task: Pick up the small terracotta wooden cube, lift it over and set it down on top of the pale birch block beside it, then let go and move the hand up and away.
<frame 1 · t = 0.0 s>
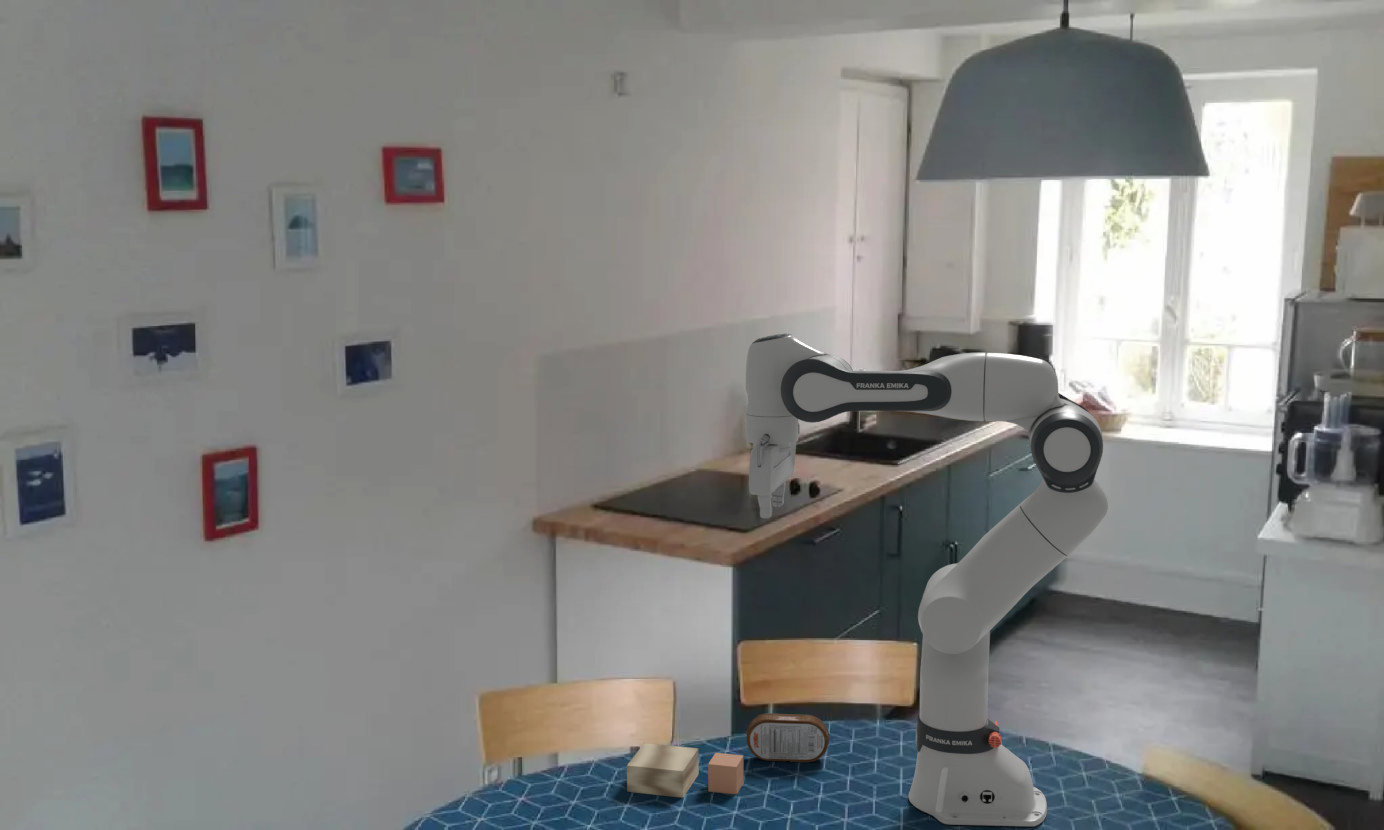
hand: (772, 511, 214), 48 cm above the table, tool pointing down, fingers open, 8 cm apart
tin: (787, 761, 230), on the table
base block: (663, 784, 221), on the table
cube: (726, 787, 219), on the table
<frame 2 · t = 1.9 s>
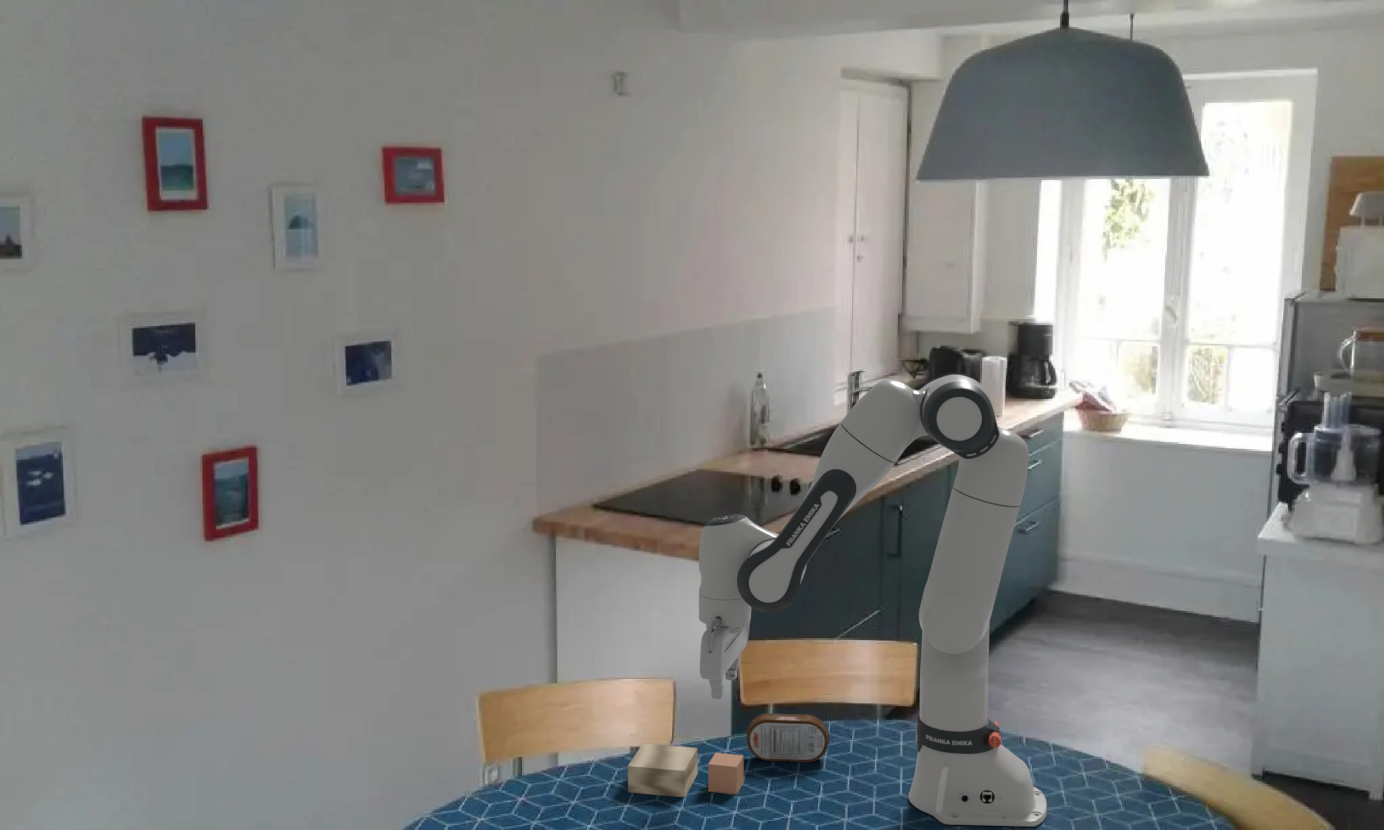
hand: (724, 688, 216), 18 cm above the table, tool pointing down, fingers open, 8 cm apart
nothing on the table moved.
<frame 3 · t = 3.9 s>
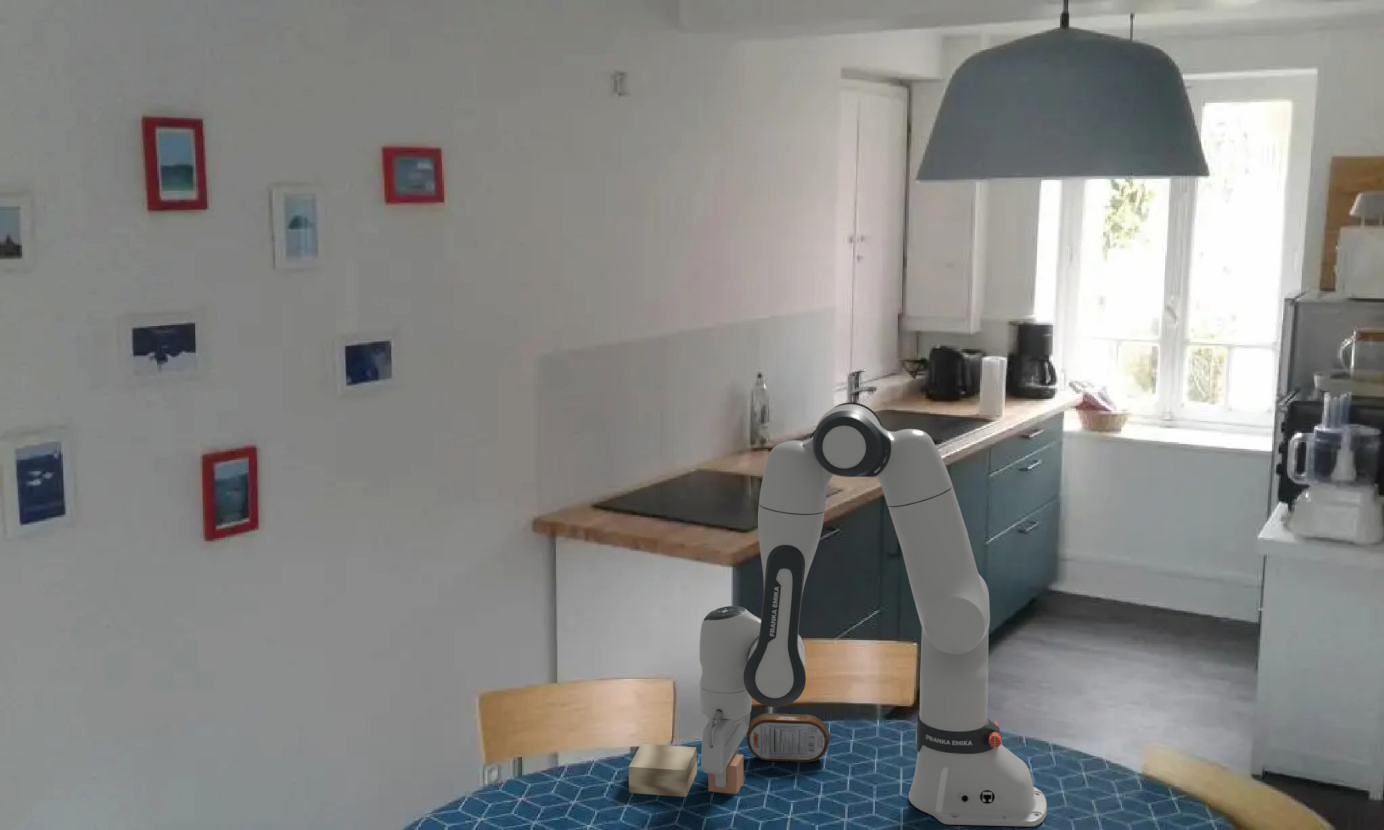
hand: (726, 777, 219), 2 cm above the table, tool pointing down, fingers closed on cube, 5 cm apart
cube: (726, 786, 219), on the table, touching gripper
everything else where it was.
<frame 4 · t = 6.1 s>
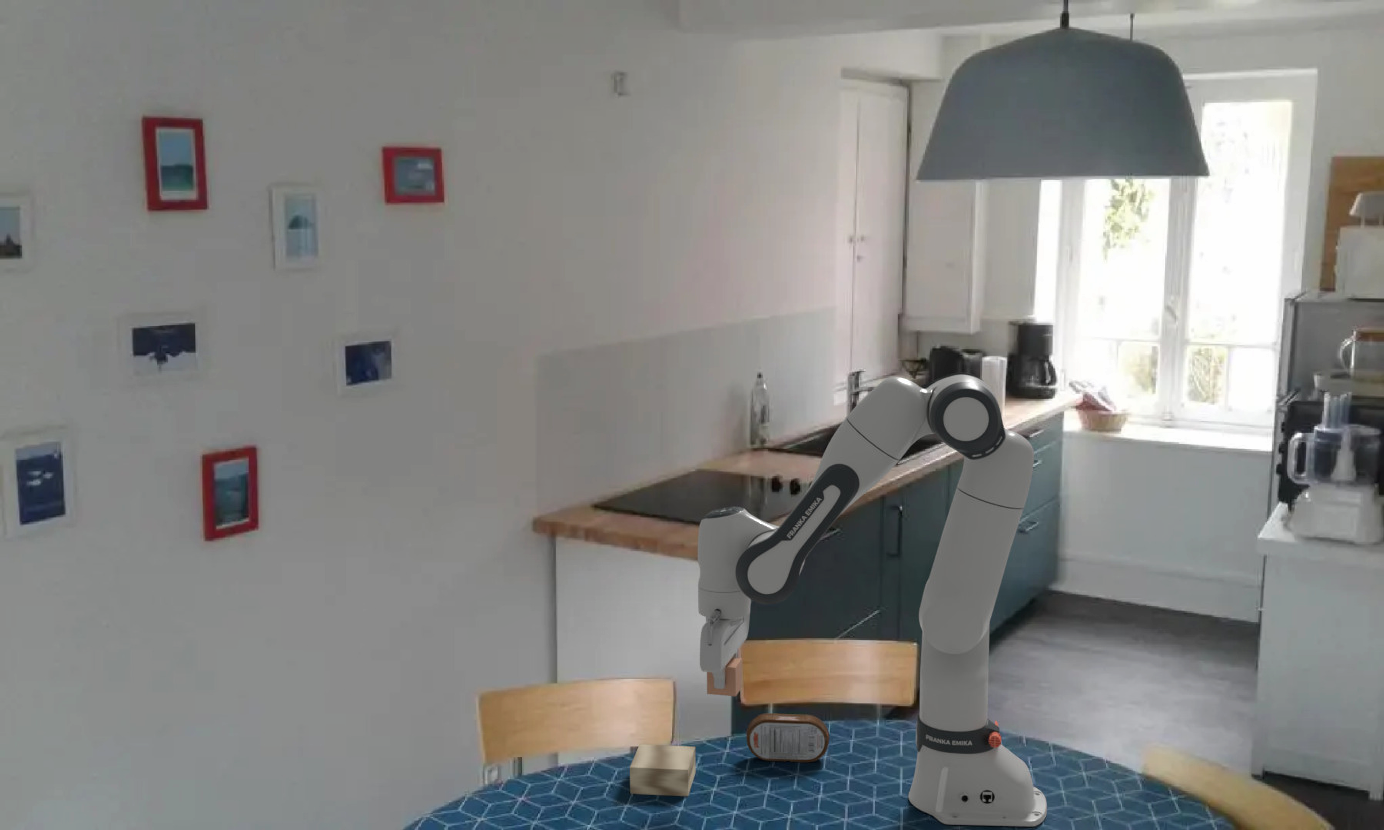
hand: (724, 680, 216), 19 cm above the table, tool pointing down, fingers closed on cube, 5 cm apart
cube: (724, 690, 216), point 17 cm above the table, touching gripper
everything else where it was.
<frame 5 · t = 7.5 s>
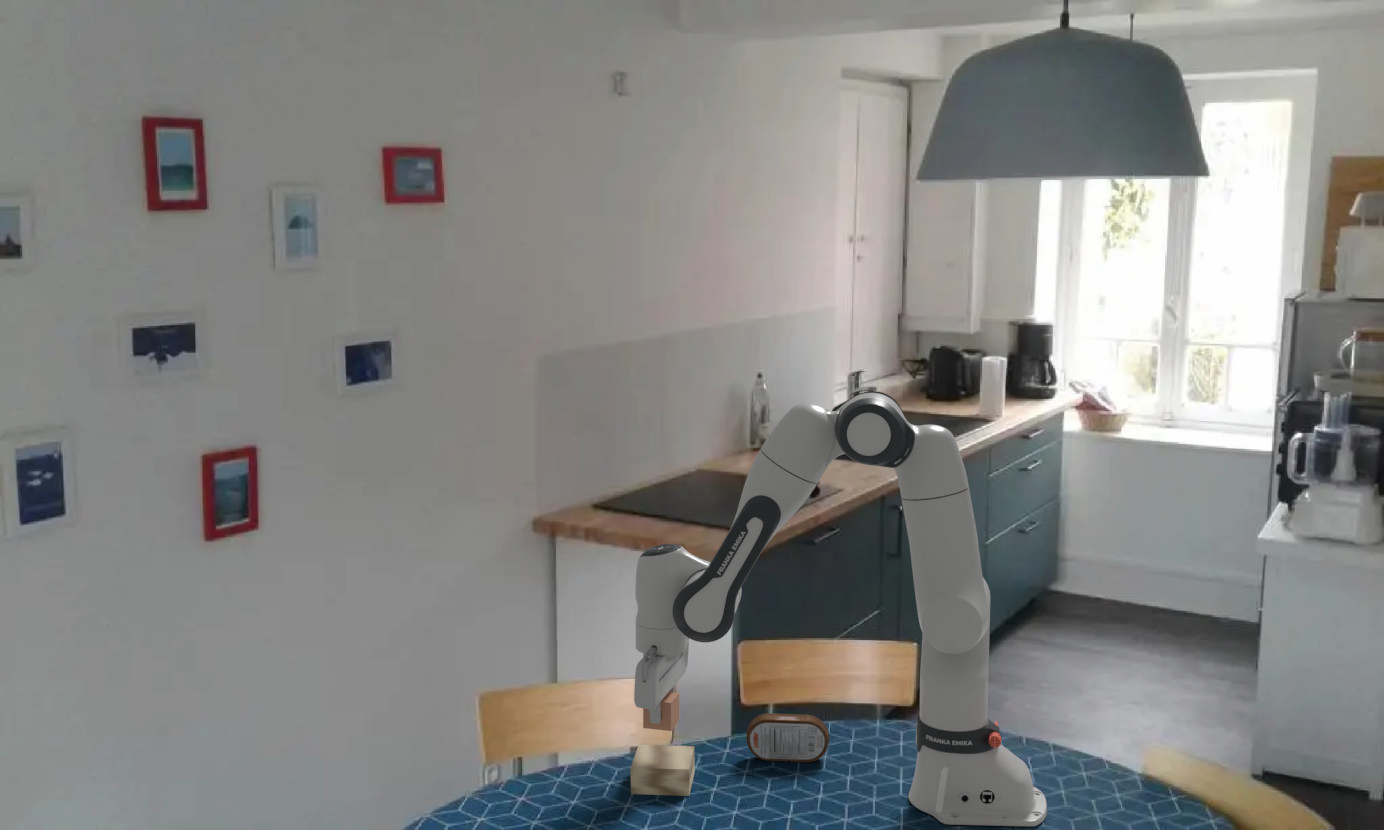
hand: (661, 715, 219), 12 cm above the table, tool pointing down, fingers closed on cube, 5 cm apart
cube: (661, 724, 219), point 11 cm above the table, touching gripper
everything else where it was.
when the fingers open (8 cm above the table, at t = 8.7 s): cube drops 2 cm, resting on base block.
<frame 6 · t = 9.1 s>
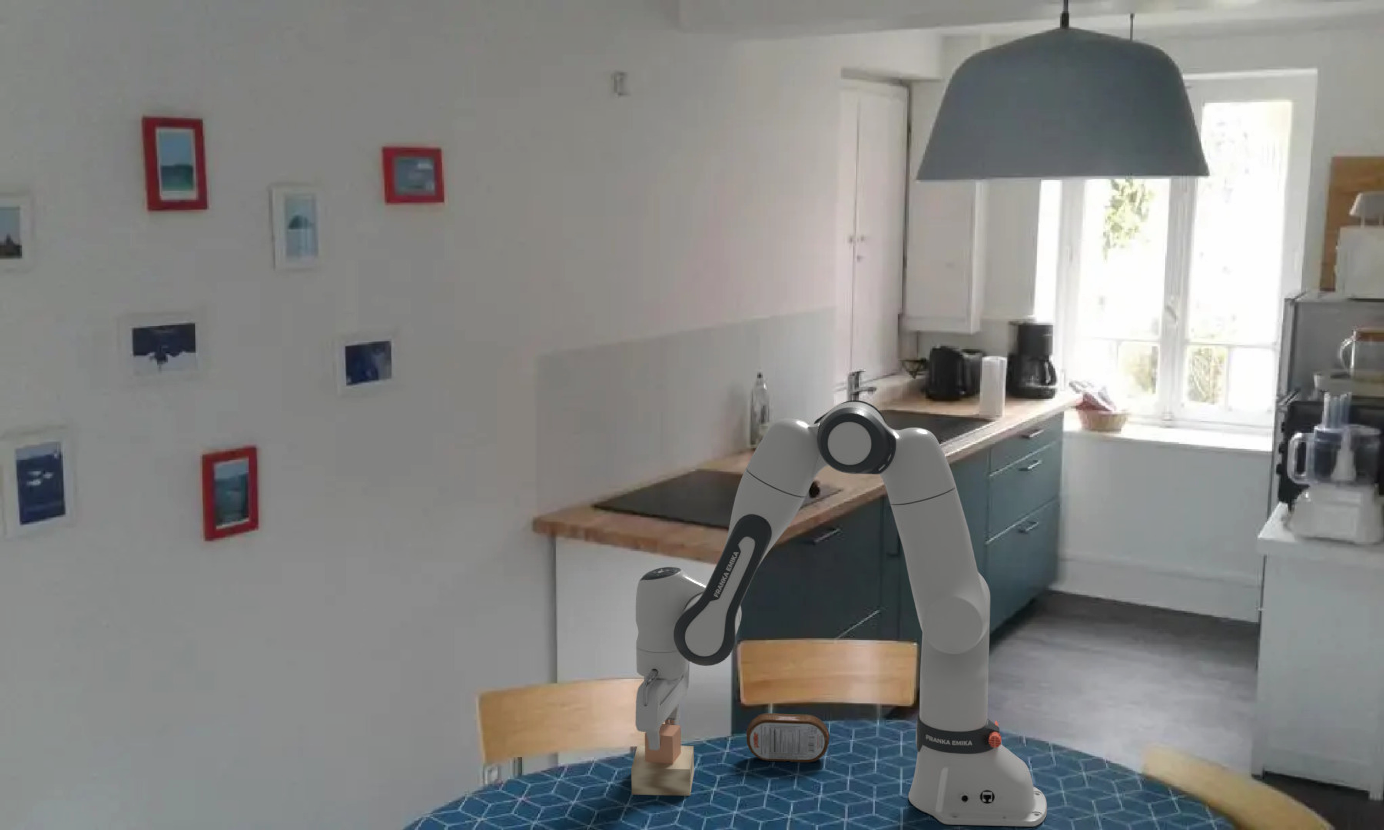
hand: (663, 738, 220), 8 cm above the table, tool pointing down, fingers open, 8 cm apart
base block: (663, 784, 221), on the table, touching cube
cube: (663, 757, 220), point 5 cm above the table, touching base block
everything else where it was.
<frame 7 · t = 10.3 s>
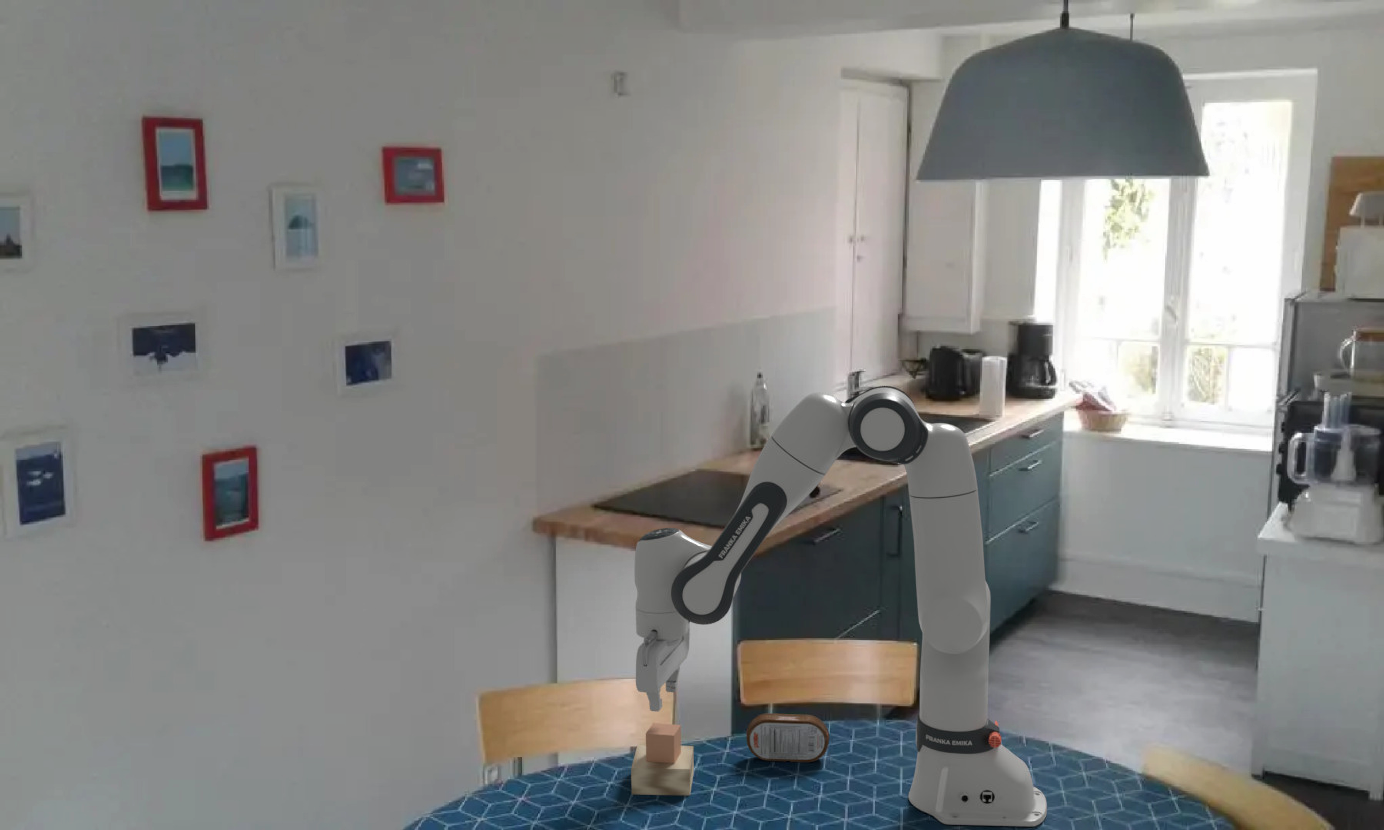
hand: (664, 700, 219), 15 cm above the table, tool pointing down, fingers open, 8 cm apart
base block: (663, 784, 221), on the table
cube: (663, 756, 220), point 5 cm above the table
everything else where it was.
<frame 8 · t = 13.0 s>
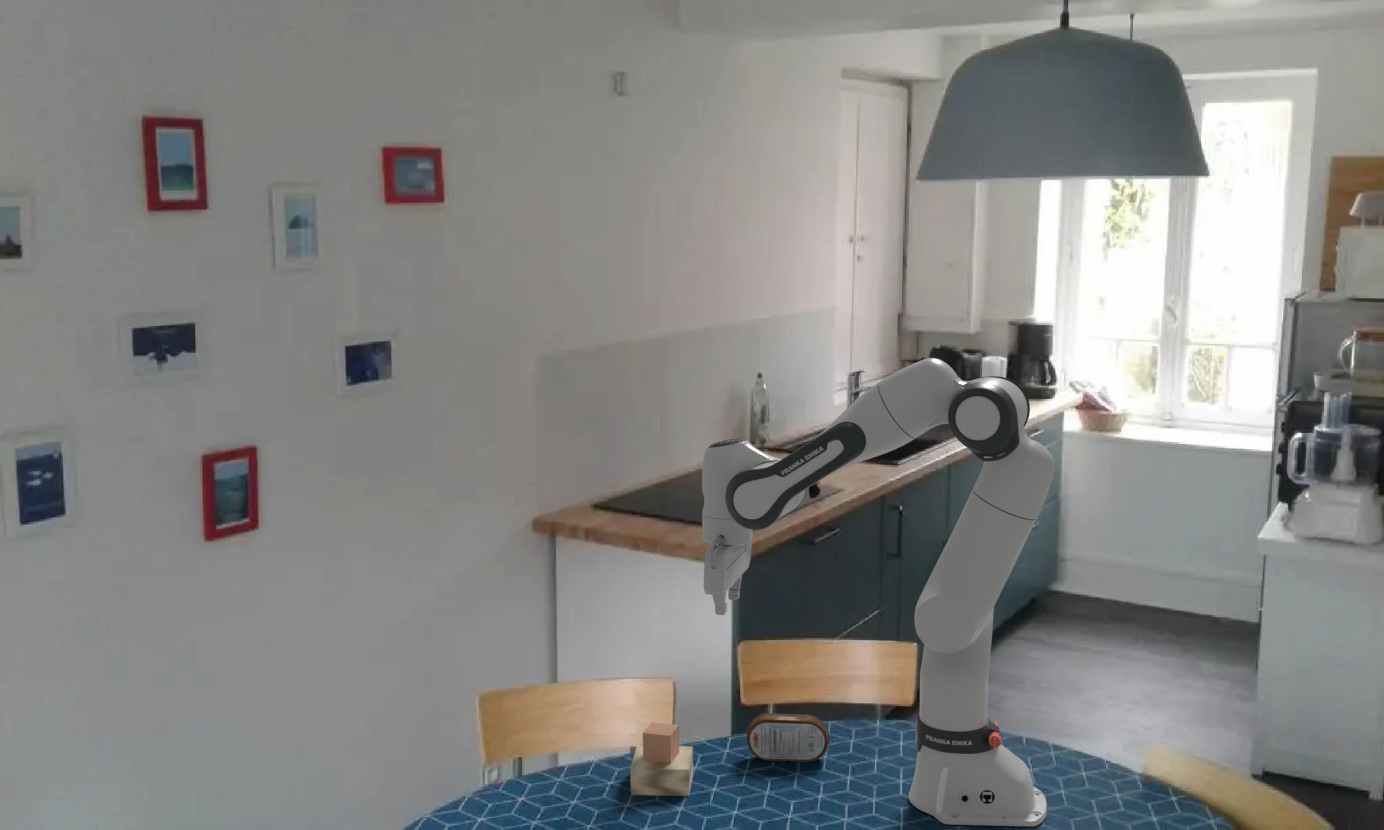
hand: (727, 606, 225), 29 cm above the table, tool pointing down, fingers open, 8 cm apart
nothing on the table moved.
at the end: cube 0.4 cm off-centre on the base block, point 5.0 cm above the base block's base; cube tilted 0°; the gripper is holding nothing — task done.
